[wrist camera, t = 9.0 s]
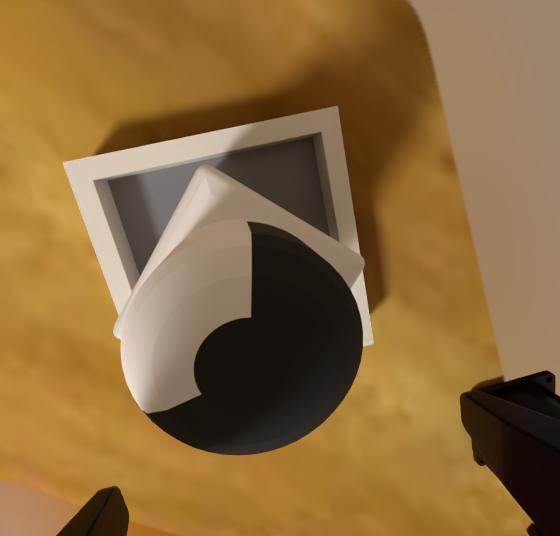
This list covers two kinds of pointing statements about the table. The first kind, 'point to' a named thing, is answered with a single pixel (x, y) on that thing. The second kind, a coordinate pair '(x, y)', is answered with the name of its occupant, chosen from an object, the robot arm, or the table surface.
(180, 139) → the walled box
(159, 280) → the medicine bottle
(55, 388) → the table surface
